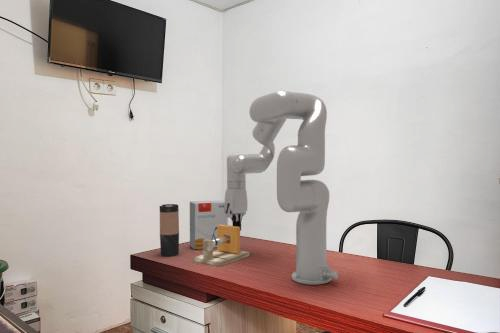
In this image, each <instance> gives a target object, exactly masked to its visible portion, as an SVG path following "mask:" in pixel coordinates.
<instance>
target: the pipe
mask: <svg viewBox="0 0 500 333" xmlns="http://www.w3.org/2000/svg"><path fill="white" fill-rule="evenodd" d="M226 242H230V235H228V236H225V237H221V238H217V239H213V246H217V245H219V244H223V243H226Z"/></svg>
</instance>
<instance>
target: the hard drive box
mask: <svg viewBox="0 0 500 333" xmlns="http://www.w3.org/2000/svg"><path fill="white" fill-rule="evenodd" d="M224 201H225V200H221V199H220V200H219V199H217V200H200V201H199V200H198V201H196V200H195V201H189V247H191V248H192V249H193V250H203V240H206V239H207V240H213V239H217V225H229V224H228V223H229V221H228V220H229V217H227V214H226V213H225V212H224ZM227 236H229V235H227ZM215 248H216V249H217V248H218V245H217V246H213V249H215Z"/></svg>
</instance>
